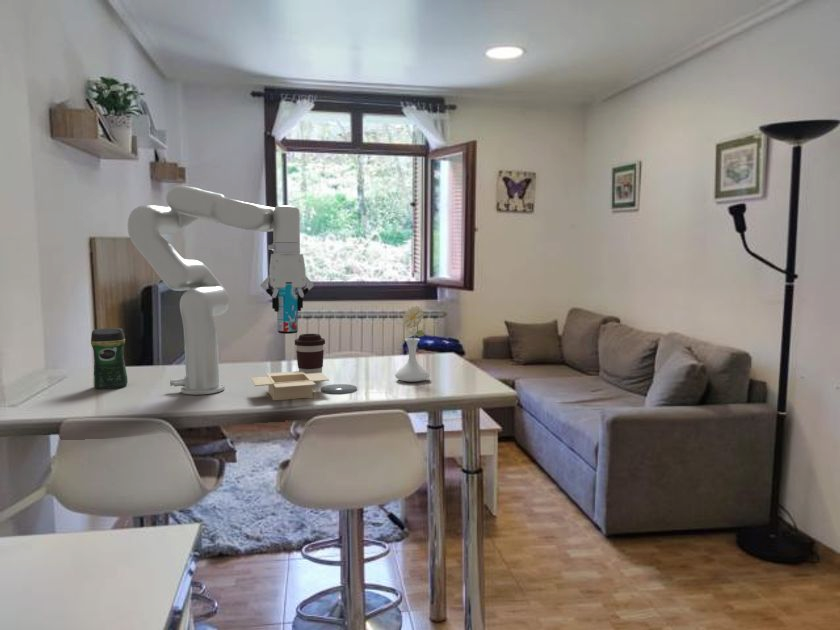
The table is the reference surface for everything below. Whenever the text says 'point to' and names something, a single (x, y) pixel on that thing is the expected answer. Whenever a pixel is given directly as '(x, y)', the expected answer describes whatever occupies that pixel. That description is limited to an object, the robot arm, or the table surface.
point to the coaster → (338, 389)
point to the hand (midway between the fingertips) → (287, 310)
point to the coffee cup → (310, 353)
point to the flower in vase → (412, 348)
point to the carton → (289, 384)
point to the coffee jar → (109, 358)
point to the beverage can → (287, 309)
